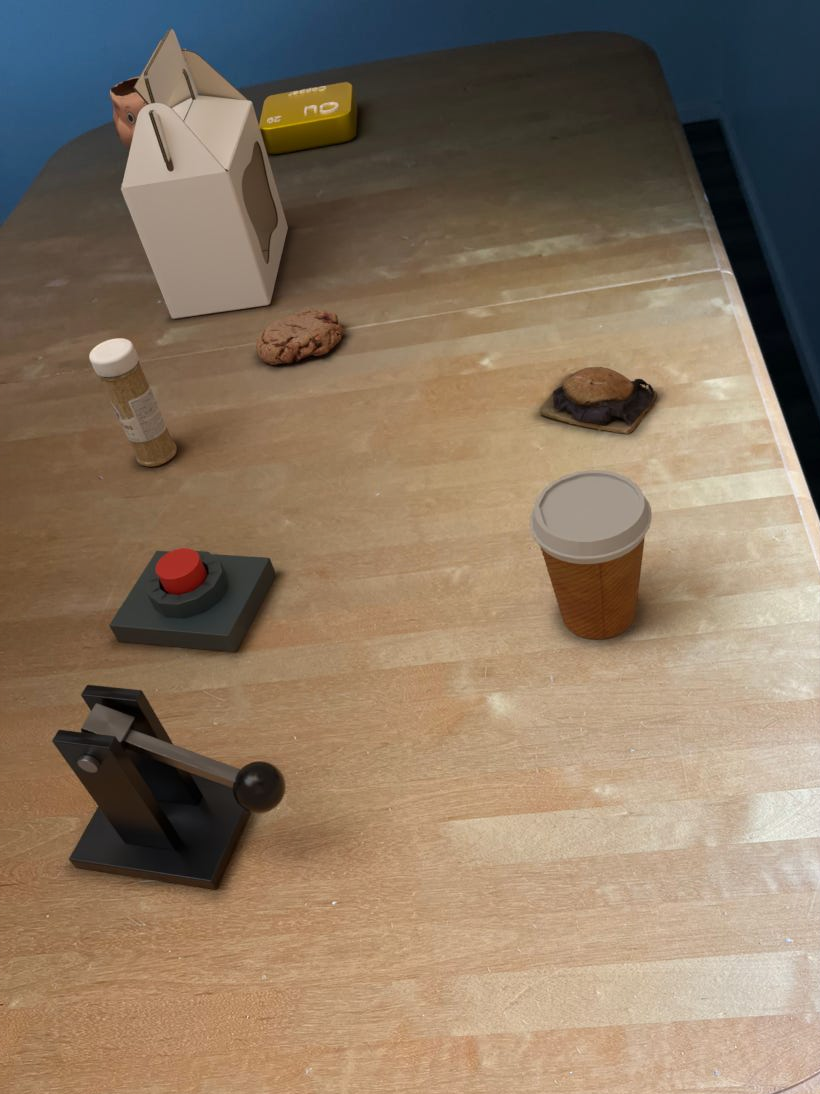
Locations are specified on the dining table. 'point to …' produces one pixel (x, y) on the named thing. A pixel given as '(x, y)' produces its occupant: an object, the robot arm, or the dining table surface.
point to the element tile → (309, 118)
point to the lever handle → (194, 761)
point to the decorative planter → (126, 109)
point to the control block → (196, 605)
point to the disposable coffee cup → (593, 548)
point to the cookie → (299, 336)
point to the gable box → (202, 188)
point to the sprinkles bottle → (133, 401)
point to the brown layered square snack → (600, 400)
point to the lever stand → (148, 804)
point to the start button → (181, 571)
